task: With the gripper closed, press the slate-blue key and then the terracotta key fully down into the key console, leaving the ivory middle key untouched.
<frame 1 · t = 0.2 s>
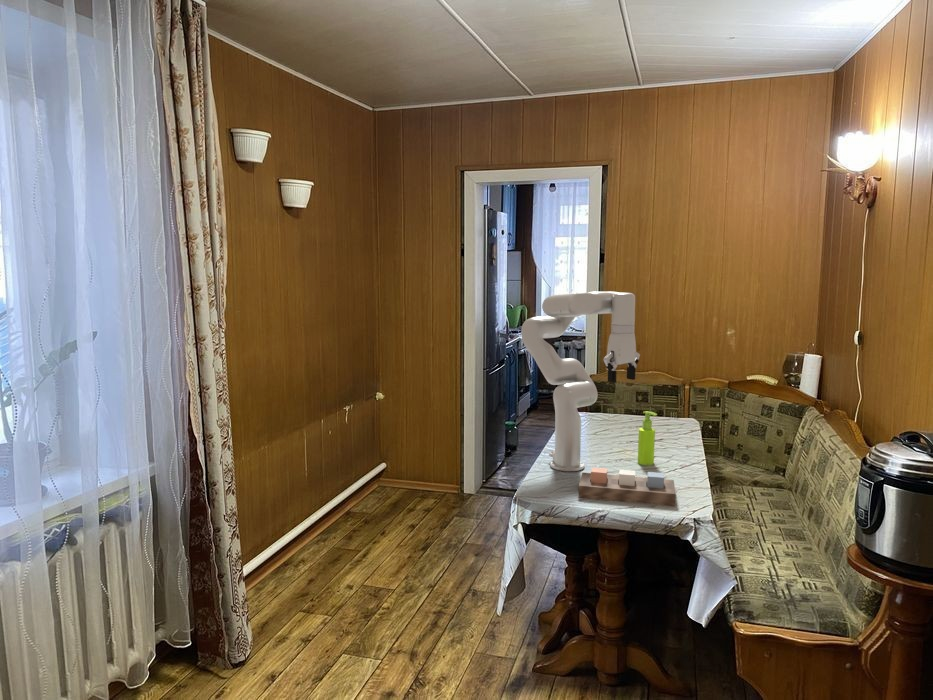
hand: (621, 380, 224), 36 cm above the table, tool pointing down, fingers open, 9 cm apart
key console: (626, 494, 219), on the table
soap dispenser: (646, 463, 253), on the table
slate key: (655, 480, 216), point 5 cm above the table, slide at 0.0 cm
terracotta key: (599, 476, 221), point 5 cm above the table, slide at 0.0 cm
ivory key: (627, 478, 218), point 5 cm above the table, slide at 0.0 cm
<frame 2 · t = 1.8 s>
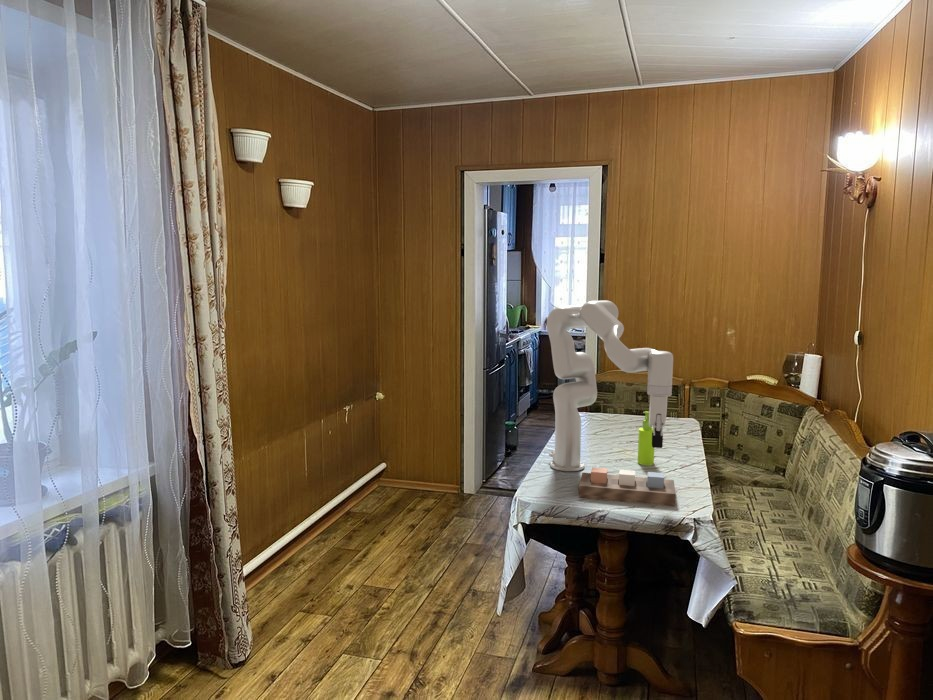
hand: (657, 445, 215), 17 cm above the table, tool pointing down, fingers closed
nothing on the table moved.
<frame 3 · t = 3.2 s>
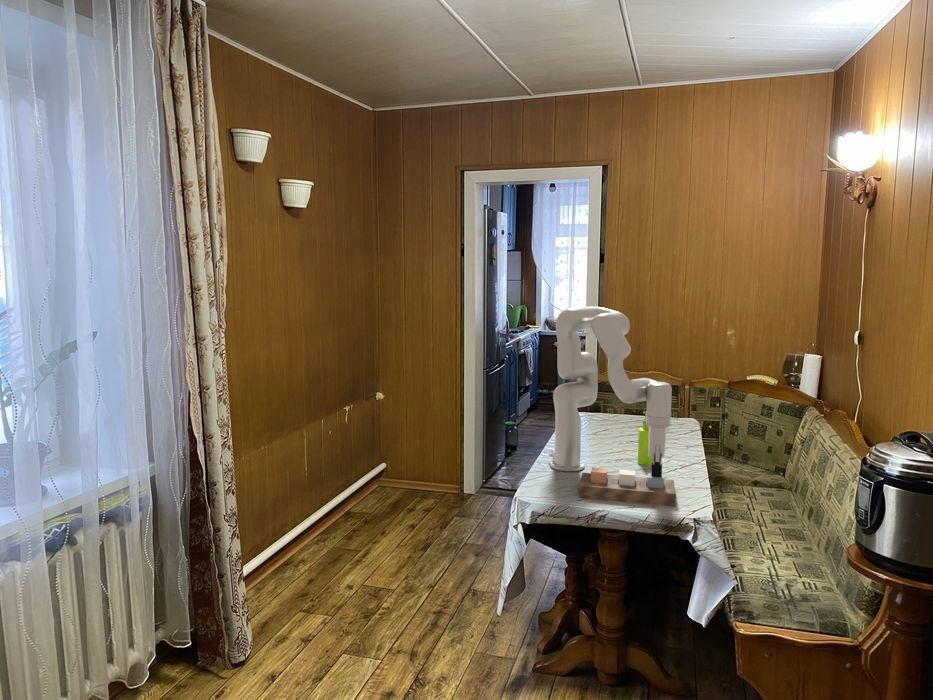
hand: (656, 476, 216), 7 cm above the table, tool pointing down, fingers closed
slate key: (655, 481, 216), point 5 cm above the table, slide at 0.4 cm, touching gripper
everything else where it was.
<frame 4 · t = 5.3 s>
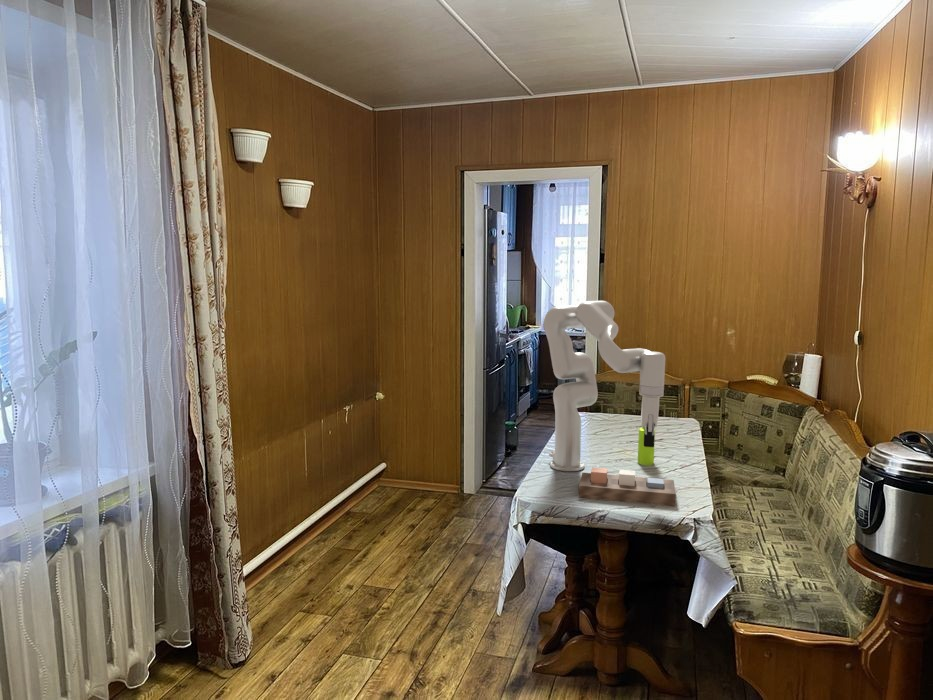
hand: (648, 446, 215), 17 cm above the table, tool pointing down, fingers closed
slate key: (655, 486, 216), point 3 cm above the table, slide at 2.0 cm
everything else where it was.
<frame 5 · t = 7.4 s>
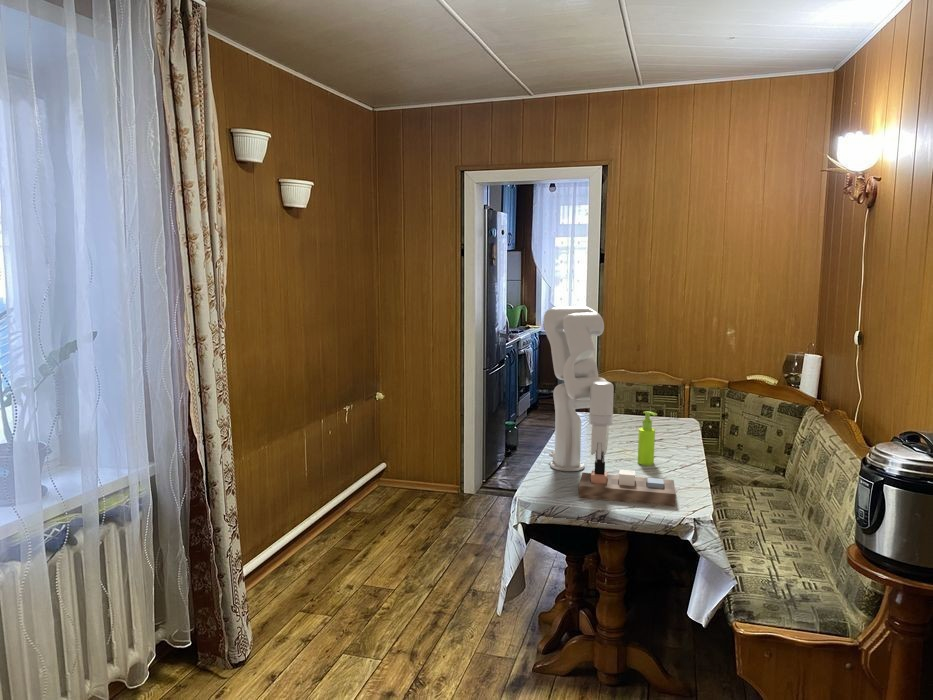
hand: (599, 473, 220), 6 cm above the table, tool pointing down, fingers closed
terracotta key: (598, 479, 221), point 4 cm above the table, slide at 1.1 cm, touching gripper
everything else where it was.
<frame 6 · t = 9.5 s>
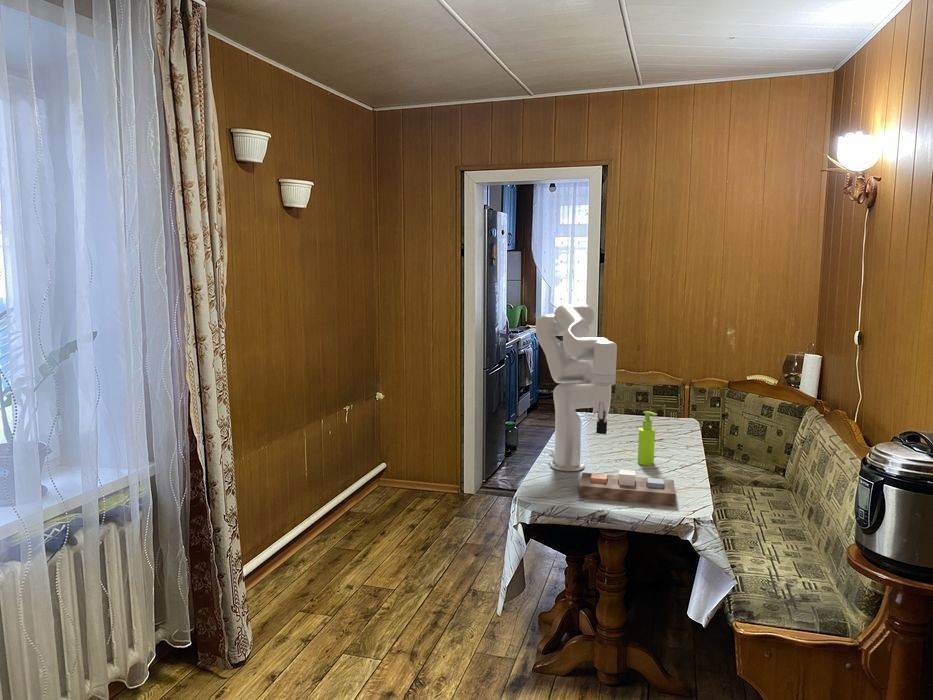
hand: (601, 433, 220), 20 cm above the table, tool pointing down, fingers closed
terracotta key: (598, 481, 221), point 3 cm above the table, slide at 2.1 cm
everything else where it was.
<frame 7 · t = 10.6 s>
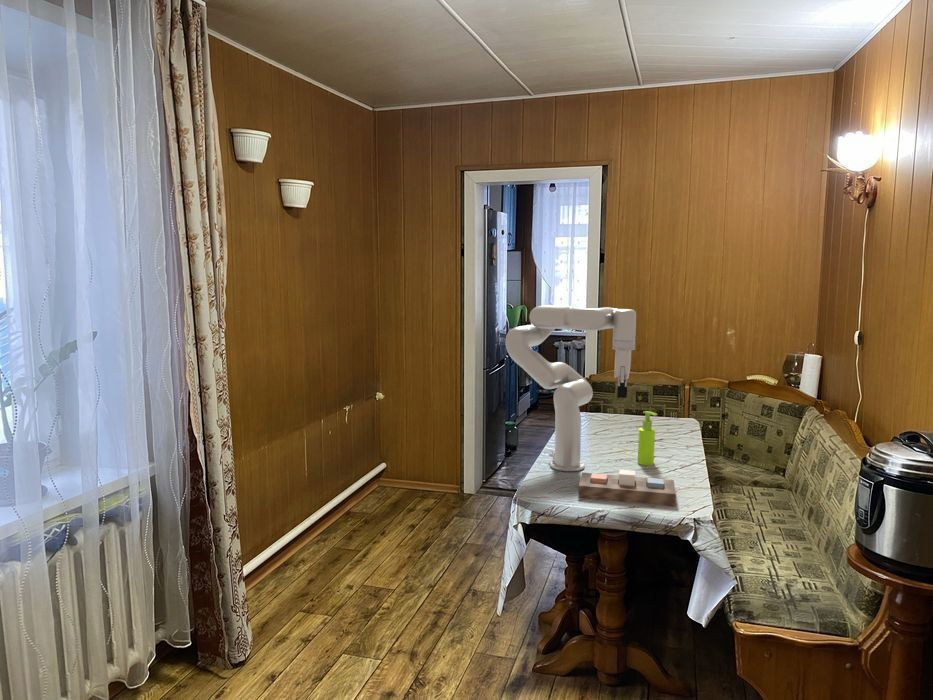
hand: (622, 397, 232), 29 cm above the table, tool pointing down, fingers closed
nothing on the table moved.
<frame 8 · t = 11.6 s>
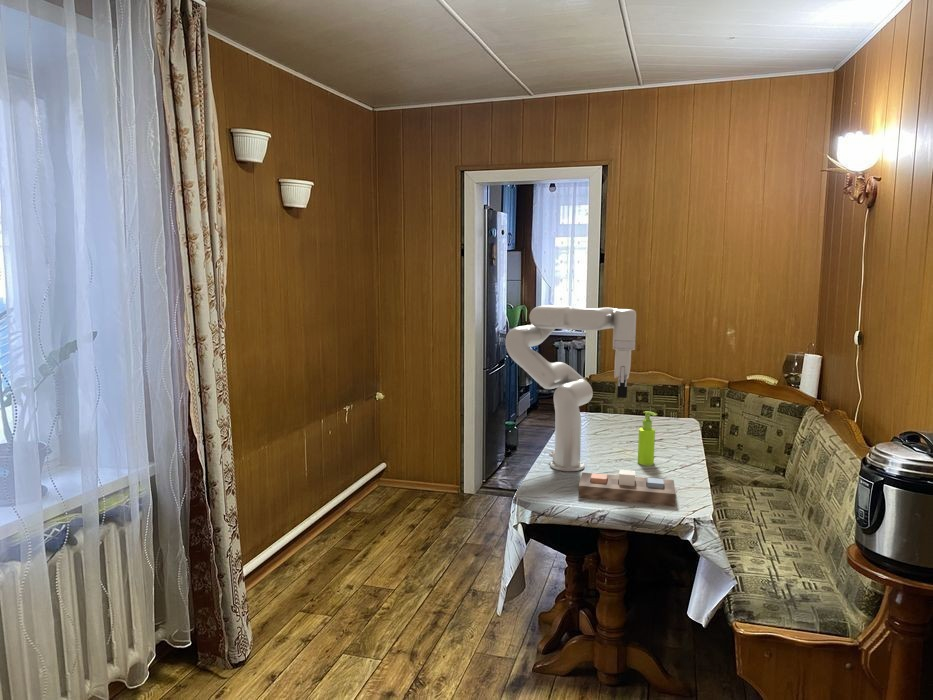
hand: (622, 397, 232), 29 cm above the table, tool pointing down, fingers closed
nothing on the table moved.
at the end: slate key slide at 2.0 cm; terracotta key slide at 2.1 cm; ivory key slide at 0.0 cm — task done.
